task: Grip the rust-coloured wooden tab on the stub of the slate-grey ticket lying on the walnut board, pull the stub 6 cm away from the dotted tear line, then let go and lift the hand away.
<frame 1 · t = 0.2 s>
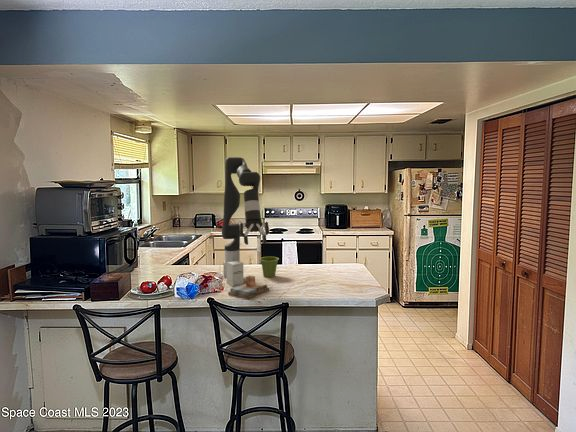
hand: (255, 244, 191), 31 cm above the counter, tool tilted 20°, fingers open, 8 cm apart
plant pot: (269, 276, 249), on the counter
stub: (249, 283, 216), point 5 cm above the counter, slide at 0.0 cm
ticket board: (248, 292, 216), on the counter
supplement box: (235, 284, 233), on the counter
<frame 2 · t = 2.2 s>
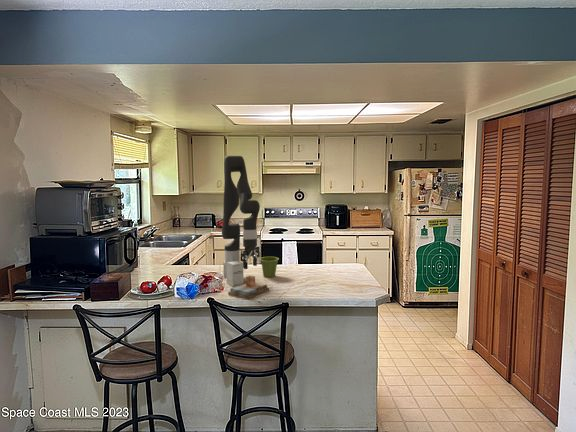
hand: (250, 267, 215), 14 cm above the counter, tool pointing down, fingers open, 8 cm apart
nothing on the counter moved.
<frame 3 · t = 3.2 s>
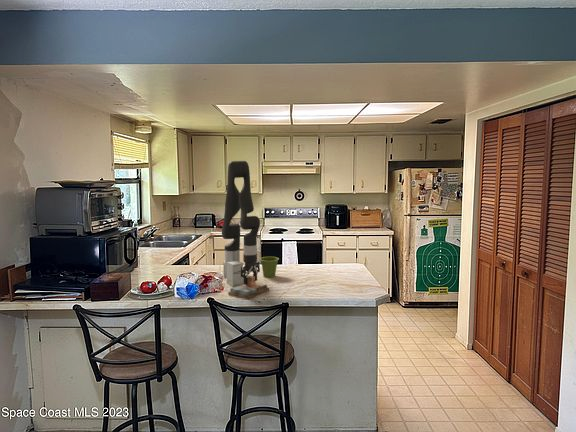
hand: (250, 282, 217), 5 cm above the counter, tool pointing down, fingers open, 8 cm apart
nothing on the counter moved.
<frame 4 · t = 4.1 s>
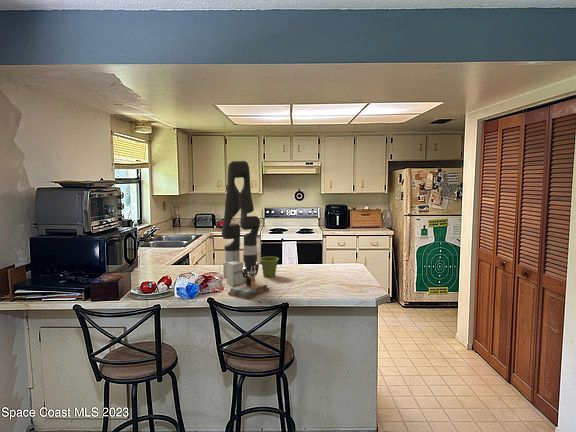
hand: (250, 284, 217), 4 cm above the counter, tool pointing down, fingers closed on stub, 3 cm apart
stub: (249, 283, 216), point 5 cm above the counter, slide at 0.0 cm, touching gripper
everything else where it was.
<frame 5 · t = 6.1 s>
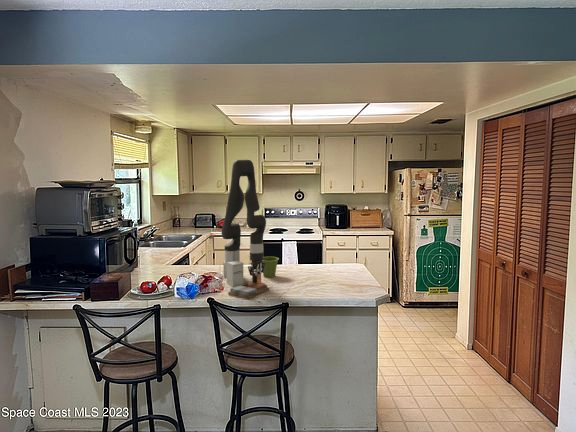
hand: (256, 281, 222), 4 cm above the counter, tool pointing down, fingers closed on stub, 3 cm apart
stub: (256, 280, 221), point 5 cm above the counter, slide at 5.9 cm, touching gripper
everything else where it was.
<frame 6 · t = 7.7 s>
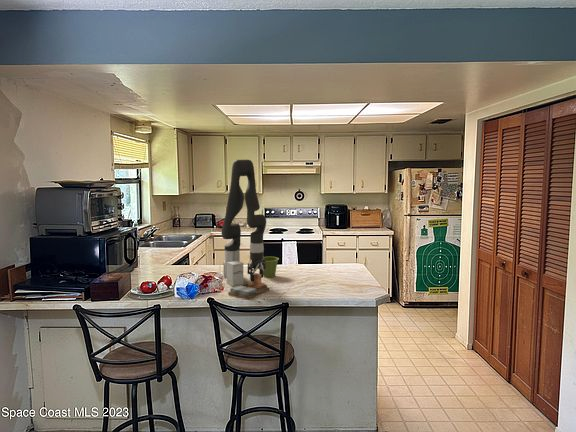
hand: (256, 279, 222), 6 cm above the counter, tool pointing down, fingers open, 8 cm apart
stub: (256, 280, 221), point 5 cm above the counter, slide at 6.0 cm
everything else where it was.
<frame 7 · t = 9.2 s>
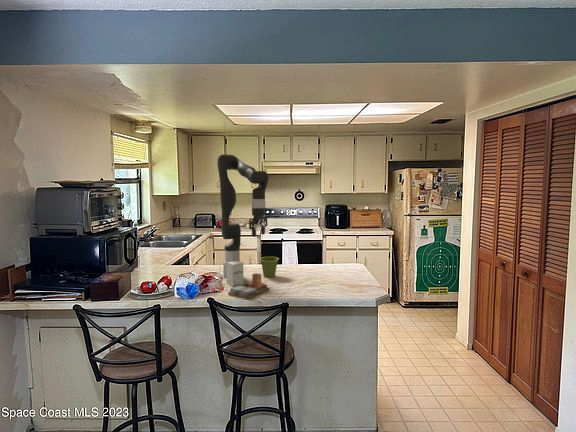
hand: (258, 235, 225), 29 cm above the counter, tool pointing down, fingers open, 8 cm apart
nothing on the counter moved.
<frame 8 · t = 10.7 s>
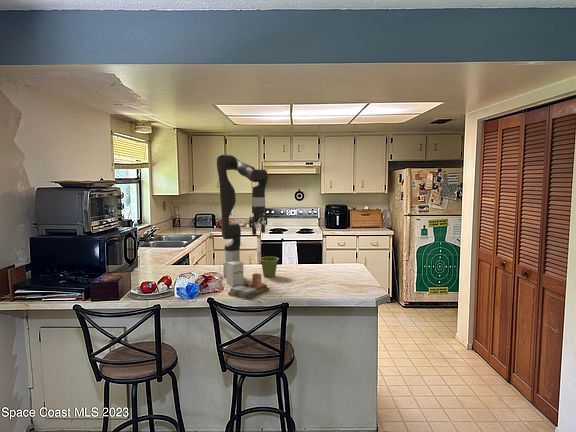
hand: (258, 233, 226), 30 cm above the counter, tool pointing down, fingers open, 8 cm apart
nothing on the counter moved.
at the end: stub slide at 6.0 cm; the gripper is holding nothing; supplement box moved 0.2 cm from its start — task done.
